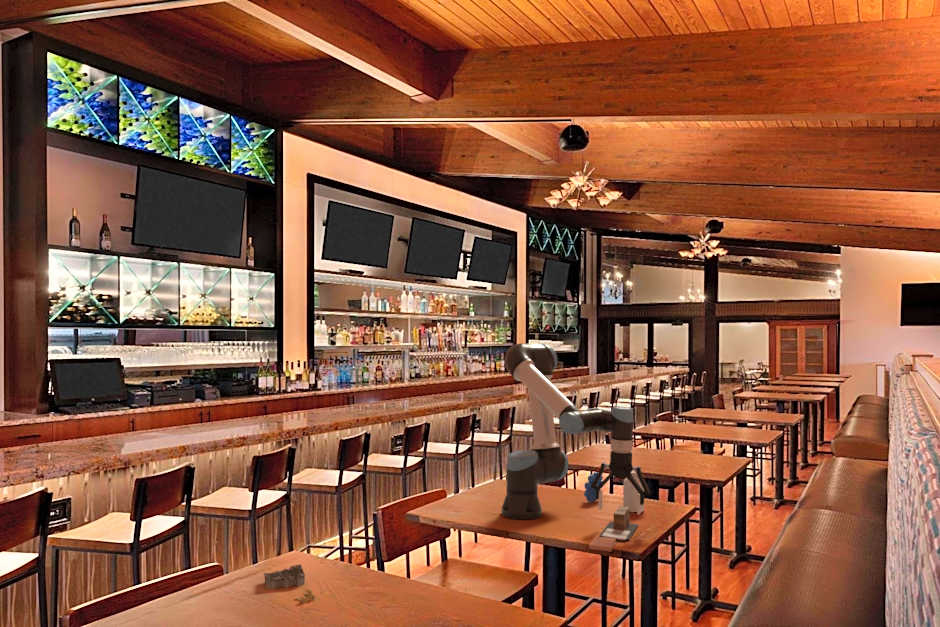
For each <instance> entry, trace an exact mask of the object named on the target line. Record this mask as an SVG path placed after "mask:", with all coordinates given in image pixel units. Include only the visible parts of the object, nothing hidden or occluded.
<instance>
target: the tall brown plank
mask: <svg viewBox="0 0 940 627" xmlns="http://www.w3.org/2000/svg"><path fill="white" fill-rule="evenodd" d="M613 522H614V529H609V528H607V529H606V531H605V532H604V533H603V535H602V537H604V538H612V539H617V540H616V541H623V540H626V539H627V538H628V536H629V534H630V533H631V531H627V530H626V528H627V526H628V525H629V524H630V512H629V507H625V506H623V505H619V506H618V508H617V509H616V510H615V512H614V513H613Z"/></svg>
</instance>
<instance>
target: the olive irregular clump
mask: <svg viewBox="0 0 940 627" xmlns="http://www.w3.org/2000/svg"><path fill="white" fill-rule="evenodd" d="M312 592H313V590H312V589H306V590H305V592H303V596H300V597H299V596H298V597H297V596H295V597H294V601H299V603H300V604H307V599H308V601H310V602H312V601H315V599H316V598H315V597H316V595H315V593H312Z"/></svg>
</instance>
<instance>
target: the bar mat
mask: <svg viewBox="0 0 940 627" xmlns="http://www.w3.org/2000/svg"><path fill="white" fill-rule="evenodd" d="M638 527H639V524H638V523H629V525H628V526H627V528H626V530H627V531H631V533H630V534H629V536H628V538H627V539H626V540H629V541H630V540H631V539H630V538H632V537H633V536H634V534H635V532H636V530H637V529H638ZM607 528H609V529H614V521H609V522H608V523H607V525H606V526H605V528H604V529H603V530H602V531H601V533H600V534H599V536H598V537H602V535H603V533H604V532H605V531H606V529H607ZM636 528H637V529H636ZM633 533H634V534H633ZM631 536H632V537H631Z"/></svg>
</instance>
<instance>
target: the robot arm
mask: <svg viewBox="0 0 940 627" xmlns="http://www.w3.org/2000/svg"><path fill="white" fill-rule="evenodd" d="M557 356H558V355H557V353H556V351H555V349H554V348H553V347H552V346H551V345H549V344H547V343H542V342H536V343H535V342H534V343H516V344H513V345H512V346H510V347H509V348H508V349H507V351H506V353H505V355H504V366H505V368H506V370H507V372H508V373H509V375H510V376H511V377H512V378H513V379H514V380H515V381H517V382H520V383H522V384H523V385H524V386H525V387H526V388H527V389H528V396H529V404H530V405H529V406H530V418H531V423H532V424H531V425H532V434H533V436H532V437H533V444H532V446H531V447H530V449H523V450H522V449H521V450H515V451H513V452H510V453H509V454H508V455H507V458H506V460H507V461H506V464H505V465H506V494H505V496H504V500H503V502H502V507H501V515H502V516H503V517H504V518H509V519H513V520H533V519H534V520H535V519H538V518H541V517H542V515H543V514H542V513H543V509H542V506H541V503H540V499H539V495H538V485H541V484H546V483H555V482H556V481H560V480H562V479H564V477H566V475H567V473H568V471H569V470H568V469H569V459H568V456H567V455H566V453H565V452H564V451H562V450H561V445H560V444H559V443H558V442H557V439H556V430H555V419H554V416H555V417H556V418H557V419H558V425H559V427H560V430H561V431H562V432H563V433H565V434H568V435H577V434H583V433H589V432H590V433H591V432H599V431H601V432H602V431H603V432H608V433H610V450H611V451H610V458H609V460H610V461H609V462H610V463H606V462H602V463H601V464H600V469H599V471H598V474H597V476H596V478H595V480H594V481H593V483H592V485H591V488H594V489H595V490H596V499H597V500H598V510H602V508H603V487H604V486H605V484H607V483H608V482H609V481H610V479H612V478H613V477H615V478H617V479H618V478H621V479H626V478H627V479H628V480H629V481H630V482H631V483H632V485H633V486H634V487H635V489H636V490H637V491H638V493H639V495H638V507H637V514H636V515H641V513H642V512H641V505H643V504H644V505H645V496H648V495H650V493H651V491H650V489H649V486H648V485H647V482H646V480H645V477H644V475H643V473H642V467H641V466H640V465H637V466H633V448H634V447H633V445H634V444H633V442H634V439H633V438H634V437H633V435H634V434H633V433H634V422H635V420H634V410H633V408H632V407H630V406H620V405H619V406H613V407H612V408H611V410H605V409H600V408H597V407H595V408H593V407H592V408H591V407H589V408H587V409H586V410H580V409H579V408H578V407H577V406H576V405H575V404H574V403H573V402H572V401H571V400H569V398H567V397H566V396H565V394H563V393H562V392H561V391H560V390H559V389H558V387H556V386H555V385H554V384H553V383H552V382H551V379H552V378H553V377H554V372H553V371H554V370H555V369H556V367H557V365H558V357H557ZM607 469H609V471H610V473H609V474H608V475H607V476H606V477H605V478H604V479H602V482H601V483H600V484H599V485H598V486H597V485H596V484H597V482H598V481H599V479H600V477H601V475H602V476H603V473H604V472H605V470H607ZM632 471H635V473H637V475H638V478H639V480H640V482H641V485H642V487H643V489H644V491H643V490H642V488H641V487H640V486H639V484H638V483H637V482H636V480H635V479H634V478H633V476H632V474H631V472H632ZM603 485H604V486H603ZM600 489H601V490H600Z"/></svg>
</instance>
